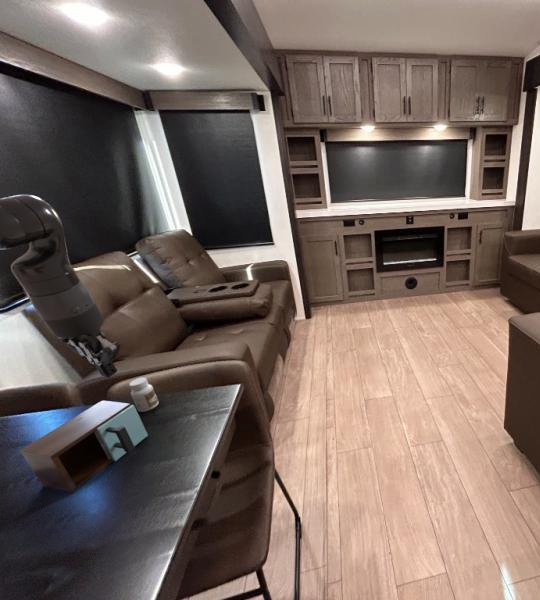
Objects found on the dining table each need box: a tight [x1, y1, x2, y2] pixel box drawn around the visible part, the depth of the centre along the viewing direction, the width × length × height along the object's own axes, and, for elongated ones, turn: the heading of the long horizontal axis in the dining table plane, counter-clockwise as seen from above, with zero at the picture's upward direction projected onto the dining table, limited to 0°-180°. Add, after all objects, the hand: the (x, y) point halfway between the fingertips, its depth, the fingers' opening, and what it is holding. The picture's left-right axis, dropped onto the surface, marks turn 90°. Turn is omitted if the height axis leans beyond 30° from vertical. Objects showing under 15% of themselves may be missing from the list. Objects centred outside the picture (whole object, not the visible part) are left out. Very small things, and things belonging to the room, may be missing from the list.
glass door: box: [97, 404, 149, 462], centre depth 66 cm, size 5×7×8 cm
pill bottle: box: [128, 377, 160, 413], centre depth 80 cm, size 4×4×8 cm
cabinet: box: [19, 400, 132, 494], centre depth 64 cm, size 8×14×9 cm, turn 166°
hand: (110, 374), depth 69 cm, fingers closed
